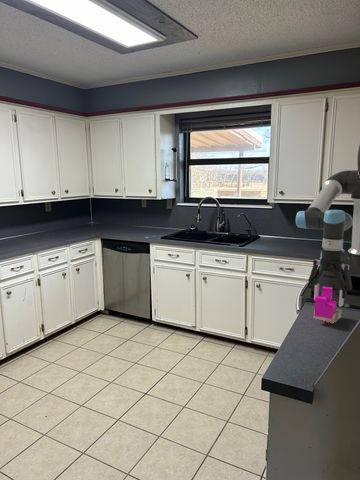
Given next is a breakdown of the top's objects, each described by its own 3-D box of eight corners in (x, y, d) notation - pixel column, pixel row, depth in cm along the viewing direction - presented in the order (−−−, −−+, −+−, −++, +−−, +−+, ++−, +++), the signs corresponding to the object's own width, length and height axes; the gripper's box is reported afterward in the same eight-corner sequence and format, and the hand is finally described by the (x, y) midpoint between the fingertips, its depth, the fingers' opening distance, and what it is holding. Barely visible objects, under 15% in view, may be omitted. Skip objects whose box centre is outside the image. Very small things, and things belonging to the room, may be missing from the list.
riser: (321, 315, 150) (322, 304, 149) (340, 321, 145) (341, 309, 144) (313, 321, 145) (313, 309, 144) (332, 326, 139) (333, 314, 138)
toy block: (331, 319, 135) (332, 300, 133) (314, 315, 138) (314, 298, 137) (338, 305, 147) (339, 288, 145) (322, 303, 150) (323, 286, 149)
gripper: (301, 246, 145) (298, 298, 149) (358, 254, 129) (353, 312, 133) (309, 244, 150) (306, 294, 154) (365, 251, 134) (360, 306, 138)
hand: (328, 302), depth 143 cm, fingers open, 9 cm apart
